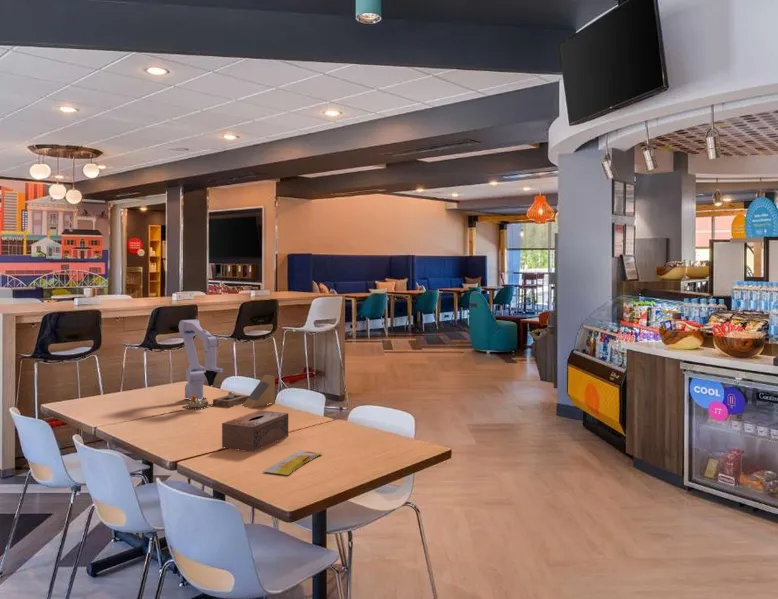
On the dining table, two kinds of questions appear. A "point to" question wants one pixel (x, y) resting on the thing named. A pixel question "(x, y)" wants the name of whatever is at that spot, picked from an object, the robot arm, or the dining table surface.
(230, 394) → the pin
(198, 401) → the nut base
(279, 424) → the tissue box cover
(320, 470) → the dining table surface
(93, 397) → the dining table surface
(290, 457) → the food package
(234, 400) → the slot block
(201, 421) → the dining table surface
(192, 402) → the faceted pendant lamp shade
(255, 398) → the sandwich container
